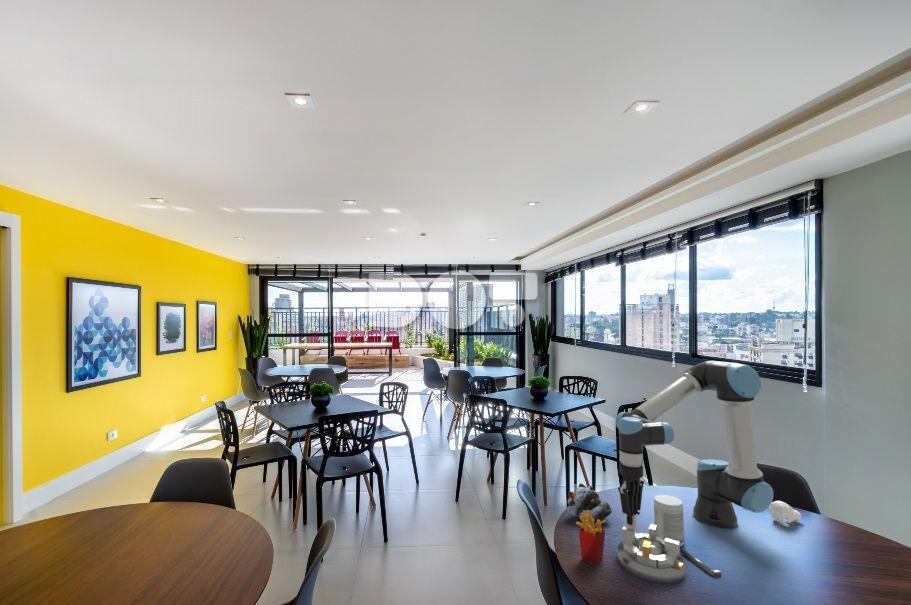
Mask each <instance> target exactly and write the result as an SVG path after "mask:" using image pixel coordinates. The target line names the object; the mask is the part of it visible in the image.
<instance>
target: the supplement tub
mask: <svg viewBox="0 0 911 605" xmlns="http://www.w3.org/2000/svg"><path fill="white" fill-rule="evenodd" d="M653 513H654V514H653V515H654V516H653V518H654V525H657V537H661V538H662V539H665V538H668V539H671V540H675V541H679V543H680V547H682V546H684V544H685V524H684V522H685V520H684V505H683V501H682V500H681V499H680V498H678V497H676V496H672V495H668V494H657V495H655V496H654V498H653Z"/></svg>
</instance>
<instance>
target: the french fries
mask: <svg viewBox="0 0 911 605" xmlns="http://www.w3.org/2000/svg"><path fill="white" fill-rule="evenodd" d="M587 513H588V514H587V515H586V516H585V514H583V513H581V515H580V517H581V518H582V522H580V521H576V522H575V524H576V525H577V526H578V527H580V528H579V529H578V534H579V535H578V536H579V537H578V538H579V543H580V544H579V546H580V552H581V554H580V555H581V560H582V561H584V562H585V563H586V562H587V563H589V564H590V565H593V566H595V567H596V566H597V565H599V564H600V563H601V562H602V561H603V559H604V558H603V557H604V546H605V536H606V529H604V528H602V524H604V523H606V522H607V521H606V519H603V520H602V521H601V522H600V520H597V522H598V525H596V526H594V519H593V516H592V515H591V513H590V511H589V510H587ZM588 517H589V518H588ZM588 519H590V522H589V520H588Z"/></svg>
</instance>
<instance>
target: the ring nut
mask: <svg viewBox="0 0 911 605" xmlns="http://www.w3.org/2000/svg"><path fill="white" fill-rule="evenodd" d="M642 539H648V540H653V541H655V542H657V543H659V544H660V545H661V546H662V551H663V552H665V553H666V554H664V555H656V556H655V555H651V542H649V541H645V540H644V543H643V545H642V552H641V551H639V550H638V549H637V548H636V547H635V546H636V545H639V541H640V540H642ZM621 540H622V541H623V540H624V542H623V550H624V552H625V553H626V554H627V555H628V556H629V557H630V558H632V559H633V560H634V561H637V563H640V564H643V565H646V566H650V567H653V568H656V567H658V568H659V569H662V568H670V567H675V566H676V564H677V559H678V556H679V554H680V555H681V553H680V552H681V550H680V547H681V546H680V543H679V541H675V540H671V539H668V538H665V539H662V538H661V537H657V525H655V523H650V525H649V527H648V533H643V532H639V533H638V532H637V534H636V530H635V529H631V528H627V526H623V527H622V528H621Z"/></svg>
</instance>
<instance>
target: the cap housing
mask: <svg viewBox="0 0 911 605" xmlns="http://www.w3.org/2000/svg"><path fill="white" fill-rule="evenodd" d="M644 540H645V541H649V542H651V555H655V556H656V555H664V554H666V553H665V552H663V551H662V546H661V545H660V544H659V543H657V542H655V541H653V540H648V539H642V540H640V541H639V545H636V546H635V547H636V548H637V549H638V550H639V551H641V552H642V545H643V543H644ZM623 542H624V540H623V539H622V541H620V542H619V543H618V545H617V560H618V562H619V564H620V566H622V567H623V569H625V570H626V571H627V572H629V573H630V574H632V575H633V576H636V577H638V578H640V579H643V580H645V581H649V582H653V583H658V584H674V583H678V582H680V581H682V580H683V579H684V577H685V576H686V562H685V561H686V560H685V559H684V557H683V556H682V555H681V553H680V554H679V556H678V559H677V564H676V566H675V567H670V568H662V569H659V568H658V567H656V568H653V567H650V566H646V565H643V564H640V563H637V561H634V560H633V559H632V558H630V557H629V556H628V555H627V554H626V553H625V552H624V550H623Z"/></svg>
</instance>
